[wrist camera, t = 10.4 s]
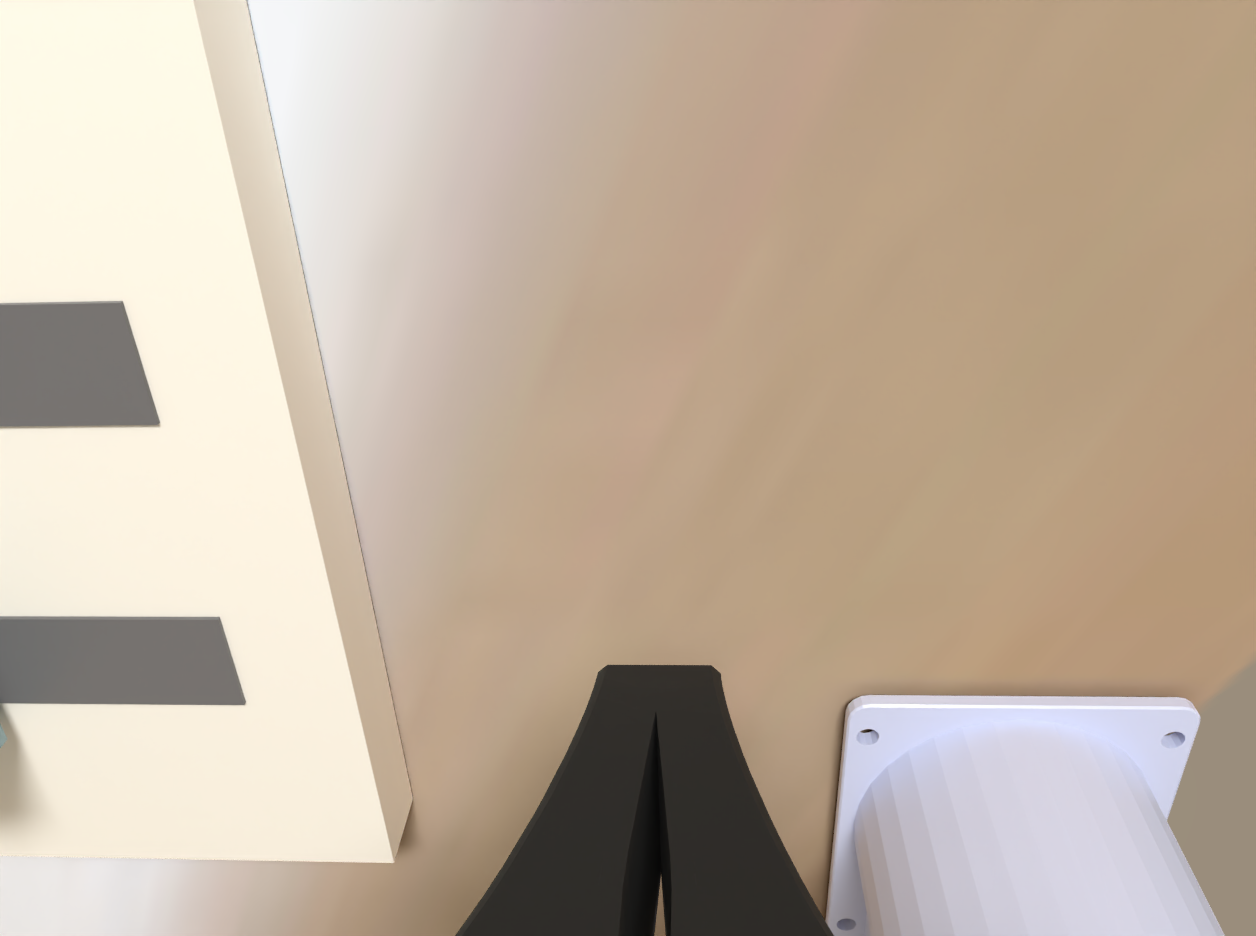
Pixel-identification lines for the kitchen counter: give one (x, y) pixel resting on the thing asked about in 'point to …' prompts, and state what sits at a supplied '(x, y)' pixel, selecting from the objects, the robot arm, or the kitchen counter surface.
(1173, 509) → the kitchen counter surface
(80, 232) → the switch panel
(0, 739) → the tab
